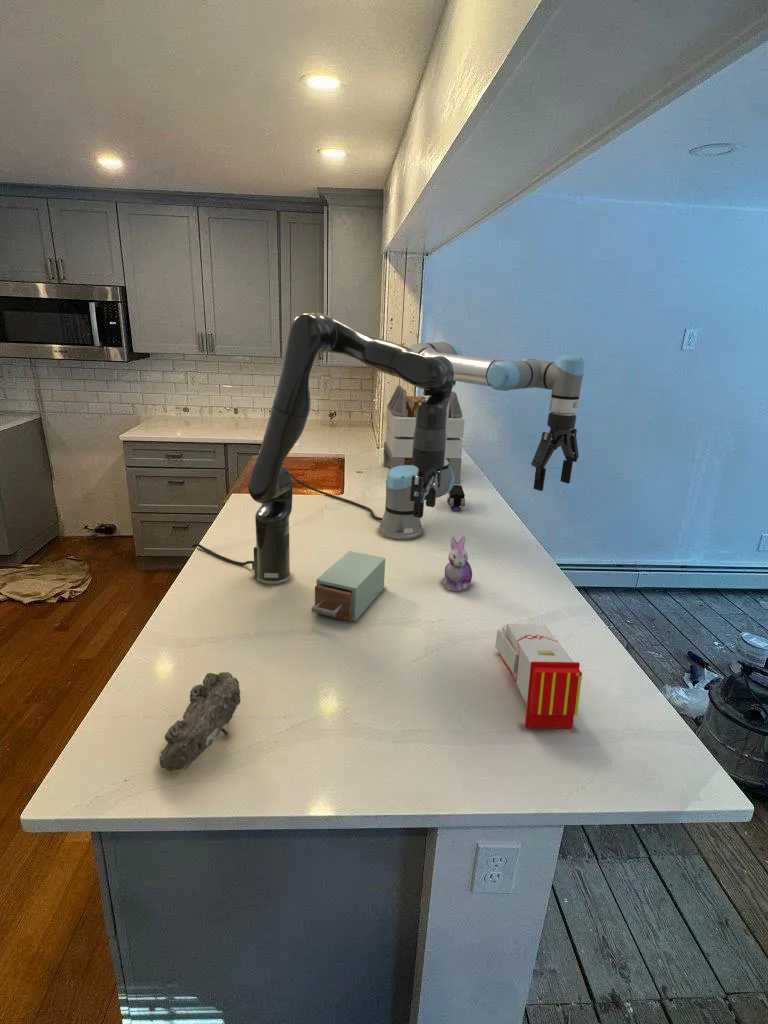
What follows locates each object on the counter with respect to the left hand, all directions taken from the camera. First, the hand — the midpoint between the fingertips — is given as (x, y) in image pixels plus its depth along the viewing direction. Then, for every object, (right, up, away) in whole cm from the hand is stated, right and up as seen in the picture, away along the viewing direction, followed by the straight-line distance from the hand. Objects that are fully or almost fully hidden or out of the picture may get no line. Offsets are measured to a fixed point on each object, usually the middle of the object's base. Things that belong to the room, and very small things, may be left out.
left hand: (424, 511), depth 137 cm
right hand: (+39, +7, +29) cm, 49 cm away
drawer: (-20, -25, +12) cm, 34 cm away
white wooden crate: (+8, +19, +138) cm, 140 cm away
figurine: (+12, -21, +28) cm, 37 cm away
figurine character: (+19, +2, +94) cm, 96 cm away
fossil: (-42, -41, -32) cm, 67 cm away
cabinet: (-19, -24, +17) cm, 35 cm away
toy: (+21, -37, -15) cm, 45 cm away
